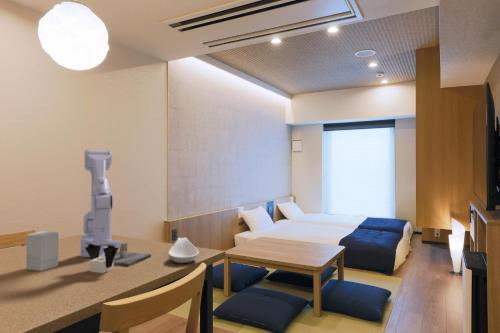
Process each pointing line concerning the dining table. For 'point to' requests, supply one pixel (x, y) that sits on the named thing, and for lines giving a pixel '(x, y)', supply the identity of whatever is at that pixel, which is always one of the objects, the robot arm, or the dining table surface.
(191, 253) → the spoon rest
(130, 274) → the dining table surface
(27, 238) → the supplement box
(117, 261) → the post board
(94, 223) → the robot arm
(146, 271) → the dining table surface
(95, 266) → the white hollow block
